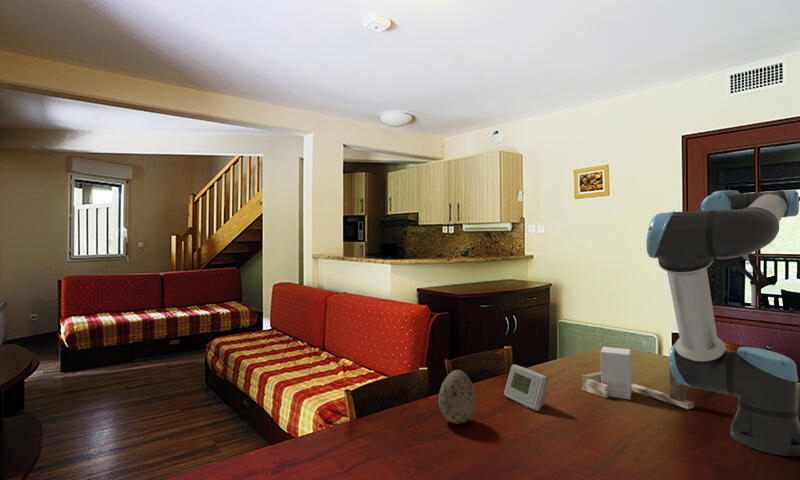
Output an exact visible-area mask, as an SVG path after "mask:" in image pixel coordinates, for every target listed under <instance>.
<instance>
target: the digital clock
mask: <svg viewBox="0 0 800 480" xmlns="http://www.w3.org/2000/svg"><path fill="white" fill-rule="evenodd" d="M508 373H509V374H508V377H507V381H506V384H505V388H504V392H503V393H504V396H505V397H506V398H508V399H510V400H511V401H513V402H515V403H517V404H519V405H521V406H523V407H525V408H527V409H529V410H533V411H535V412H540V410H541V408H542V407H544V406H545V404H546V403H545V402H546V400H545V399H546V390H547V386H548V381H549V380H548V377H547V376H545V375H544V374H541V373H540V372H537V371H534V370H532V369H529V368H527V367H524V366H520V365H517V364H512V365H511V367H510V370H509V372H508Z"/></svg>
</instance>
